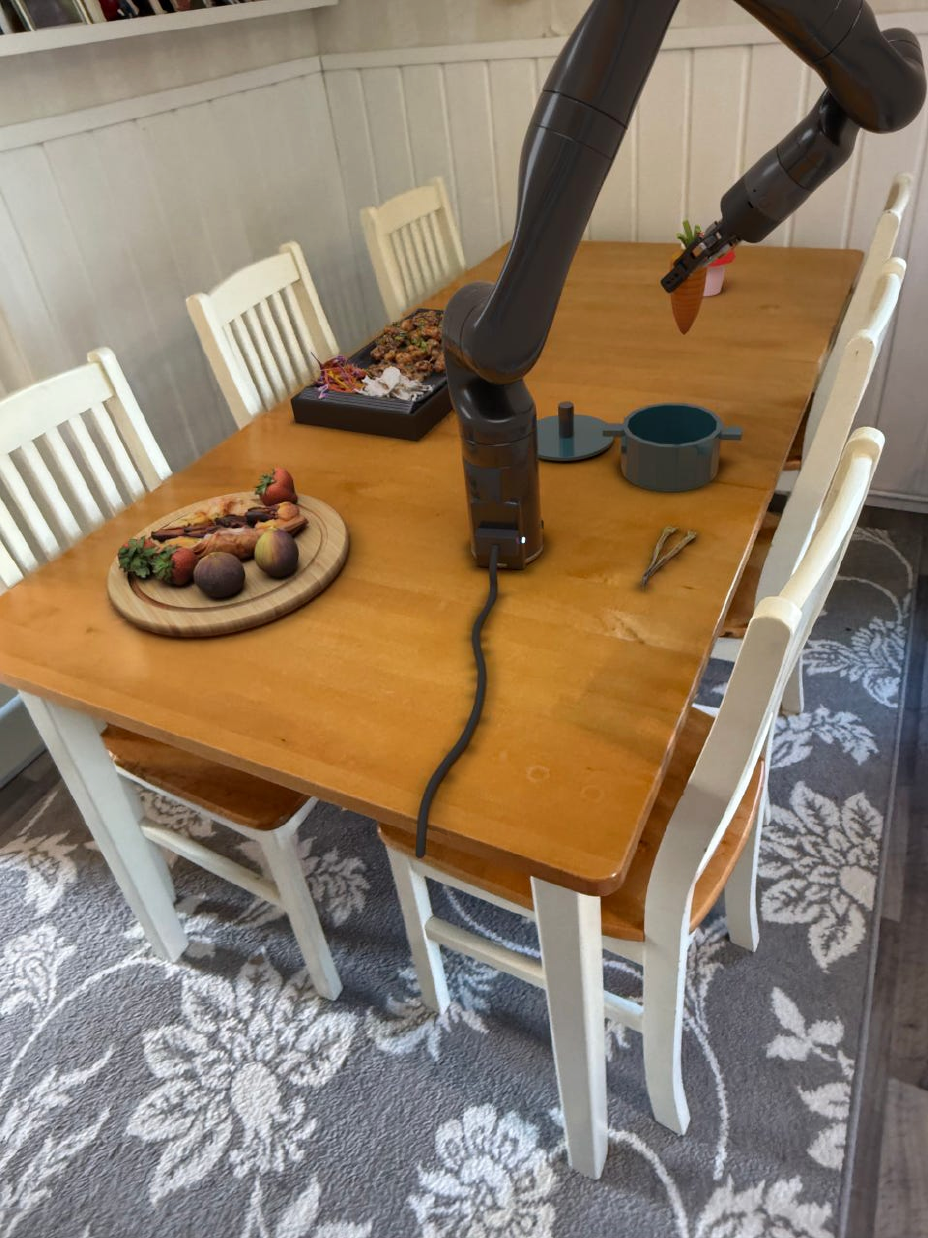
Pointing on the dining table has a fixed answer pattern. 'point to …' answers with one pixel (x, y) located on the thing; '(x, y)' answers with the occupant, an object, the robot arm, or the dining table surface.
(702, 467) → the saucepan
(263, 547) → the wooden plate
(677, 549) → the tongs
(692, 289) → the carrot
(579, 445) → the pan lid
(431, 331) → the food platter
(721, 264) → the mushroom
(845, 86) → the robot arm
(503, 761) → the dining table surface
